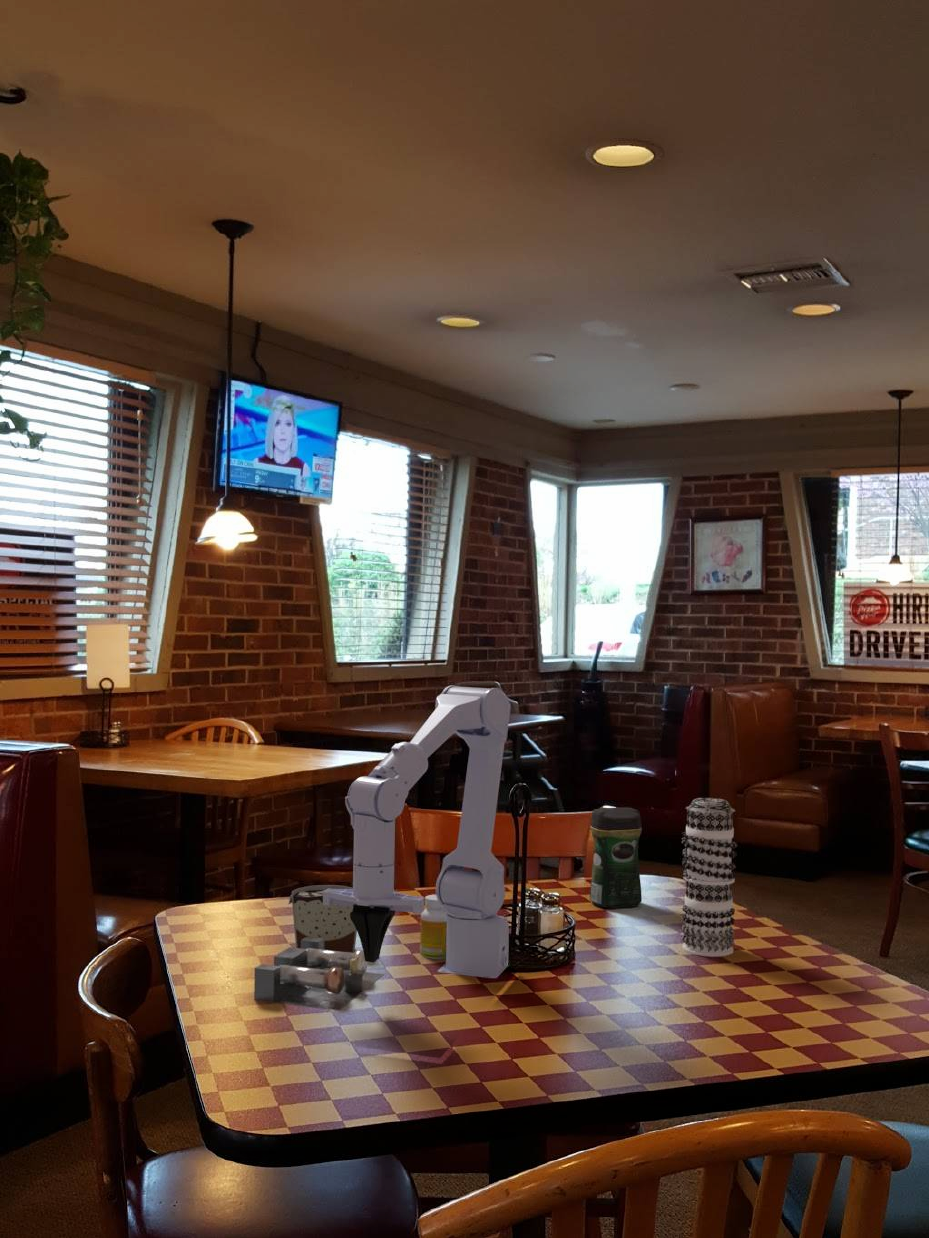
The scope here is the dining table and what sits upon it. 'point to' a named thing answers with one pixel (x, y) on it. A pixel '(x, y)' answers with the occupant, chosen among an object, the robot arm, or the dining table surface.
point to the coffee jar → (615, 858)
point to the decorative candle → (708, 878)
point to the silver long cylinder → (336, 959)
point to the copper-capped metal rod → (313, 978)
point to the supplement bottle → (433, 929)
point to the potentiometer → (353, 978)
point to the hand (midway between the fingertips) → (372, 960)
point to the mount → (273, 991)
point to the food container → (322, 919)
